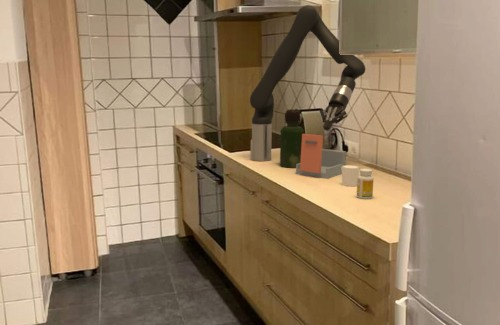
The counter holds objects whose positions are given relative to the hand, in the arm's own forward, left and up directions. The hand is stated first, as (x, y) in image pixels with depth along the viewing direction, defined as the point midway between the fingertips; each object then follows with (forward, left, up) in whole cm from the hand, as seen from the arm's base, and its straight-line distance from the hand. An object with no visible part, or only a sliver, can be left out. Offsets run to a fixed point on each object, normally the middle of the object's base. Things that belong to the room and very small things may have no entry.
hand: (325, 129), depth 212 cm
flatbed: (-1, -3, -18) cm, 18 cm away
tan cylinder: (+13, -20, -18) cm, 30 cm away
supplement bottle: (+20, -37, -18) cm, 46 cm away
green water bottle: (-16, +8, -18) cm, 26 cm away
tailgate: (-4, -11, -16) cm, 20 cm away
